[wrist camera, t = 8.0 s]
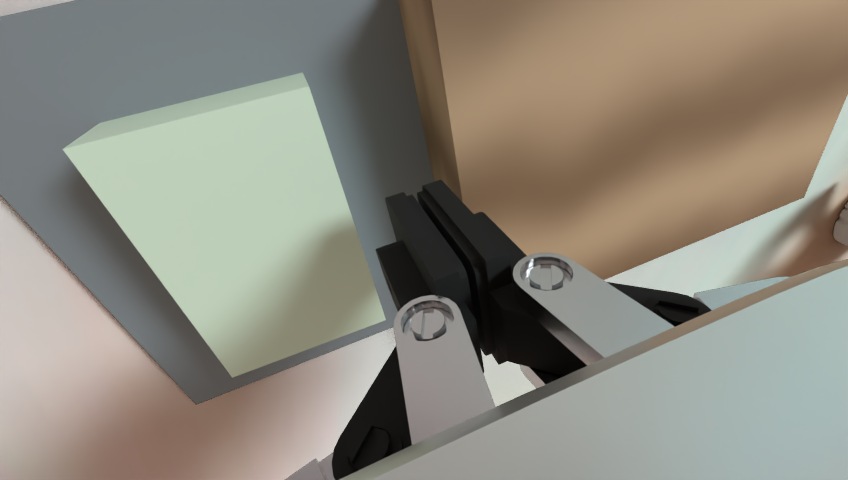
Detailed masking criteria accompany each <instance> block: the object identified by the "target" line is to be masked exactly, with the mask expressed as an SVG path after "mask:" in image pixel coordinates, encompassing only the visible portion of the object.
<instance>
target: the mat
mask: <svg viewBox="0 0 848 480" xmlns="http://www.w3.org/2000/svg"><path fill="white" fill-rule="evenodd" d="M298 73H303V74H304V77H305V79H306V81H307V83H308V85H309V88H310V91H311V94H312V97H313V100H314V103H315V106H316V109H317V112H318V115H319V118H320V121H321V124H322V127H323V130H324V133H325V136H326V139H327V142H328V145H329V148H330V151H331V154H332V158H333V161H334V164H335V167H336V170H337V173H338V176H339V179H340V182H341V185H342V188H343V191H344V194H345V197H346V200H347V203H348V206H349V209H350V212H351V215H352V218H353V221H354V224H355V227H356V230H357V233H358V236H359V239H360V243H361V246H362V249H363V252H364V255H365V258H366V261H367V264H368V267H369V270H370V273H371V276H372V279H373V282H374V285H375V288H376V291H377V294H378V297H379V300H380V303H381V306H382V309H383V312H384V315H385V318H386V320H385V321H382V322H379V323H377V324H374V325H371V326H369V327H366V328H363V329H361V330H358V331H355V332H353V333H350V334H347V335H345V336H342V337H339V338H337V339H334V340H331V341H329V342H326V343H324V344H321V345H318V346H316V347H313V348H310V349H308V350H305V351H302V352H300V353H297V354H294V355H292V356H289V357H286V358H284V359H281V360H278V361H276V362H273V363H270V364H268V365H265V366H262V367H260V368H257V369H254V370H252V371H249V372H246V373H244V374H241V375H238V376H236V377H233V378H232V377H231V375H230V374H229V373H228V371H227V370H226V369H225V367H224V366H223V365H222V363H221V362H220V361H219V359H218V358H217V357H216V355H215V354H214V352H213V351H212V350H211V348H210V347H209V346H208V344H207V343H206V342H205V340H204V339H203V338H202V336H201V335H200V334H199V332H198V331H197V330H196V328H195V327H194V326H193V324H192V323H191V322H190V320H189V319H188V317H187V316H186V315H185V313H184V312H183V311H182V309H181V308H180V307H179V305H178V304H177V303H176V301H175V300H174V299H173V297H172V296H171V295H170V293H169V292H168V291H167V289H166V288H165V287H164V285H163V284H162V282H161V281H160V280H159V278H158V277H157V276H156V274H155V273H154V272H153V270H152V269H151V268H150V266H149V265H148V264H147V262H146V261H145V260H144V258H143V257H142V256H141V254H140V253H139V252H138V250H137V249H136V247H135V246H134V245H133V243H132V242H131V241H130V239H129V238H128V237H127V235H126V234H125V233H124V231H123V230H122V229H121V227H120V226H119V225H118V223H117V222H116V221H115V219H114V218H113V217H112V215H111V214H110V213H109V211H108V210H107V208H106V207H105V206H104V204H103V203H102V202H101V200H100V199H99V198H98V196H97V195H96V194H95V192H94V191H93V190H92V188H91V187H90V186H89V184H88V183H87V182H86V180H85V179H84V178H83V176H82V175H81V173H80V172H79V171H78V169H77V168H76V167H75V165H74V164H73V163H72V161H71V160H70V159H69V157H68V156H67V155H66V153H65V152H64V151H63V149H64V148H65V147H66V146H68V145H69V144H71V143H72V142H73V141H75V140H76V139H78V138H79V137H80V136H82V135H83V134H85V133H86V132H88V131H89V130H90V129H92V128H93V127H95V126H96V125H97V124H99V123H101V122H105V121H109V120H114V119H118V118H122V117H126V116H130V115H134V114H138V113H142V112H146V111H150V110H154V109H158V108H162V107H166V106H170V105H174V104H178V103H182V102H186V101H190V100H194V99H198V98H202V97H206V96H210V95H214V94H218V93H222V92H226V91H230V90H234V89H238V88H242V87H246V86H250V85H254V84H258V83H262V82H266V81H270V80H274V79H278V78H282V77H286V76H290V75H294V74H298ZM431 182H434V179H433V174H432V169H431V164H430V159H429V154H428V149H427V144H426V138H425V133H424V128H423V123H422V118H421V113H420V108H419V103H418V98H417V93H416V88H415V83H414V77H413V72H412V67H411V62H410V57H409V52H408V47H407V42H406V37H405V32H404V27H403V22H402V17H401V11H400V6H399V1H398V0H75V1H71V2H66V3H61V4H57V5H52V6H48V7H43V8H38V9H34V10H29V11H25V12H20V13H15V14H11V15H6V16H2V17H0V195H1V196H2V197H3V198H4V199H5V200H6V201H7V202H8V203H9V204H10V205H11V207H12V208H13V209H14V210H15V211H16V212H17V213H18V214H19V215H20V216H21V217H22V218H23V219H24V221H25V222H26V223H27V224H28V225H29V226H30V227H31V228H32V229H33V230H34V231H35V232H36V233H37V234H38V236H39V237H40V238H41V239H42V240H43V241H44V242H45V243H46V244H47V245H48V246H49V247H50V248H51V250H52V251H53V252H54V253H55V254H56V255H57V256H58V257H59V258H60V259H61V260H62V261H63V262H64V263H65V265H66V266H67V267H68V268H69V269H70V270H71V271H72V272H73V273H74V274H75V275H76V276H77V277H78V279H79V280H80V281H81V282H82V283H83V284H84V285H85V286H86V287H87V288H88V289H89V290H90V291H91V292H92V294H93V295H94V296H95V297H96V298H97V299H98V300H99V301H100V302H101V303H102V304H103V305H104V306H105V308H106V309H107V310H108V311H109V312H110V313H111V314H112V315H113V316H114V317H115V318H116V319H117V320H118V321H119V323H120V324H121V325H122V326H123V327H124V328H125V329H126V330H127V331H128V332H129V333H130V334H131V335H132V337H133V338H134V339H135V340H136V341H137V342H138V343H139V344H140V345H141V346H142V347H143V348H144V349H145V350H146V352H147V353H148V354H149V355H150V356H151V357H152V358H153V359H154V360H155V361H156V362H157V363H158V364H159V366H160V367H161V368H162V369H163V370H164V371H165V372H166V373H167V374H168V375H169V376H170V377H171V378H172V379H173V381H174V382H175V383H176V384H177V385H178V386H179V387H180V388H181V389H182V390H183V391H184V392H185V393H186V394H187V396H188V397H189V398H190V399H191V400H192V401H193V402H194V403H195V404H196V405H197V404H199V403H202V402H204V401H207V400H209V399H212V398H214V397H217V396H220V395H222V394H225V393H227V392H230V391H232V390H235V389H237V388H240V387H242V386H245V385H247V384H250V383H252V382H255V381H258V380H260V379H263V378H265V377H268V376H270V375H273V374H275V373H278V372H280V371H283V370H285V369H288V368H291V367H293V366H296V365H298V364H301V363H303V362H306V361H308V360H311V359H313V358H316V357H318V356H321V355H323V354H326V353H329V352H331V351H334V350H336V349H339V348H341V347H344V346H346V345H349V344H351V343H354V342H356V341H359V340H361V339H364V338H367V337H369V336H372V335H374V334H377V333H379V332H382V331H384V330H387V329H389V328H392V327H394V320H395V317H396V315H397V313H398V311H397V309H396V306H395V304H394V301H393V299H392V296H391V294H390V291H389V288H388V286H387V283H386V280H385V277H384V274H383V272H382V269H381V265H380V262H379V259H378V256H377V253H376V249H377V248H380V247H382V246H385V245H388V244H391V243H394V242H397V241H396V237H395V234H394V230H393V227H392V223H391V220H390V216H389V213H388V209H387V205H386V201H385V198H386V197H389V196H392V195H395V194H398V193H401V192H404V193H405V194H406V196H408V195H411V194H412V195H413V196H414V197H415V199H416V200H417V201H418V198H417V192H420V191H422V185H425V184H428V183H431ZM418 203H419V202H418Z"/></svg>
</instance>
